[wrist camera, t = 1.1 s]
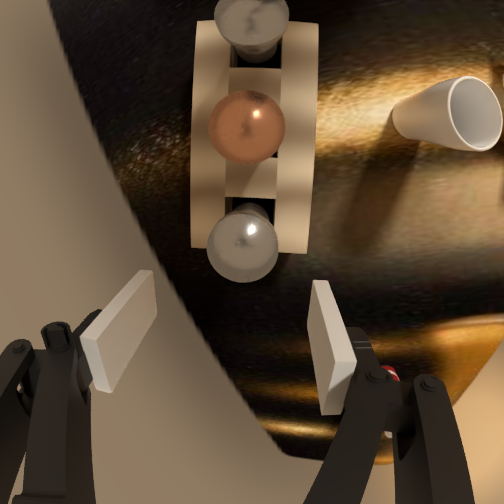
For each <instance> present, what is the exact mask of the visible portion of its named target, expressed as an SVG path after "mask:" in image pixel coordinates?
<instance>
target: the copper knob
mask: <svg viewBox="0 0 504 504" xmlns="http://www.w3.org/2000/svg"><path fill="white" fill-rule="evenodd" d="M285 129H286V128H285V119H284V115H283V113H282V111H281V109H280V107H279V106H278V105H277V103H276V102H275V101H274V100H273V99H271V98H270V97H269V96H267V95H265V94H263V93H260V92H257V91H252V90H242V91H237V92H234V93H231V94H229V95H227V96H226V97H224V98H223V99H221V100H220V101H219V102H218V103H217V104H216V106H215V107H214V109H213V111H212V112H211V115H210V118H209V123H208V133H209V137H210V141H211V143H212V145H213V147H214V148H215V150H216V151H217V152H218V153H219V154H220V155H221V156H222V157H224V158H225V159H227V160H229V161H231V162H234V163H237V164H243V165H251V164H256V163H260V162H262V161H264V160H266V159H268V158H269V157H271V156H272V155H273V154H274V153H275V152H276V151H277V150H278V149H279V147H280V145H281V144H282V142H283V139H284V135H285Z"/></svg>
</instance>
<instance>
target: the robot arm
mask: <svg viewBox="0 0 504 504" xmlns="http://www.w3.org/2000/svg"><path fill="white" fill-rule="evenodd" d="M157 315H158V314H157V306H156V296H155V287H154V275H153V271H152V270H139V271H138V272H137V273H136V274H135V276H134V277H133V278H132V279H131V280H130V281H129V282H128V283H127V284H126V285H125V286H124V287H123V289H122V290H121V291H120V292H119V293H118V294H117V295H116V296H115V297H114V298H113V300H112V301H111V302H110V303H109V304H108V305H107V306H106V307H105V308H104V309H103V310H101V309H97V310H96V311H94V312H92V313H90V314H89V315H88V316H87V317H86V318H85V319H84V321H83V322H82V323H81V324H80V326H78V327H77V328H76V329H75V330H74V331H73V333H72V332H71V329H70V326H69V325H68V324H67V323H65V322H53V323H50V324H48V325H46V326H44V327H43V328H42V330H41V335H42V338H43V341H44V344H45V347H46V350H38V349H33V347H32V345H31V343H30V341H29V340H25V339H18V340H15V341H13V342H11V343H10V344H9V345H8V346H7V347H6V348H5V350H4V351H3V352H2V354H1V355H0V504H8V501H9V498H10V495H11V491H12V489H13V486H14V483H15V480H16V476H17V474H18V471H19V468H20V465H21V463H22V460H23V457H24V455H25V452H26V457H25V467H24V480H23V491H22V494H20V495H15V496H14V497H13V499H12V504H96V499H95V491H94V480H93V467H92V450H91V392H90V389H89V385H90V383H91V381H92V380H93V382H94V385H95V387H96V390H100V391H104V392H108V393H112V392H113V390H114V388H115V387H116V385H117V383H118V381H119V380H120V377H121V376H122V374H123V373H124V371H125V369H126V367H127V366H128V364H129V362H130V360H131V358H132V356H133V355H134V354H135V352H136V350H137V348H138V346H139V345H140V343H141V342H142V340H143V338H144V336H145V335H146V333H147V331H148V330H149V328H150V327H151V325H152V323H153V322H154V320H155V318H156V317H157ZM307 328H308V334H309V340H310V345H311V351H312V357H313V363H314V369H315V375H316V382H317V388H318V394H319V401H320V408H321V414H322V415H338V414H341V412H342V409H343V406H344V408H345V413H344V415H343V418H342V420H341V423H340V425H339V428H338V430H337V432H336V435H335V437H334V440H333V442H332V444H331V446H330V449H329V451H328V453H327V455H326V458H325V460H324V462H323V464H322V466H321V469H320V471H319V473H318V475H317V477H316V479H315V481H314V483H313V485H312V487H311V489H310V491H309V493H308V495H307V497H306V499H305V501H304V503H303V504H360V502H361V500H362V497H363V494H364V491H365V488H366V485H367V482H368V479H369V476H370V473H371V470H372V467H373V463H374V460H375V456H376V453H377V449H378V446H379V442H380V438H381V435H382V431H387V432H392V443H393V456H394V474H395V504H475V502H474V496H473V490H472V485H471V480H470V475H469V470H468V466H467V461H466V457H465V453H464V449H463V445H462V441H461V437H460V433H459V430H458V426H457V423H456V419H455V415H454V412H453V409H452V406H451V402H450V399H449V396H448V393H447V390H446V387H445V385H444V383H443V381H442V380H440V379H439V378H438V377H436V376H434V375H429V374H422V375H419V376H417V377H416V378H415V379H414V381H413V383H408V382H402V381H397V380H394V379H393V376H392V374H391V373H390V372H389V371H388V370H386V369H385V368H382V367H380V364H379V362H378V360H377V357H376V355H375V353H374V350H373V348H372V346H371V343H370V342H369V339H368V337H367V334H366V333H365V332H364V331H363V330H361V329H360V328H359V327H345V326H344V323H343V321H342V318H341V315H340V312H339V310H338V307H337V304H336V302H335V299H334V296H333V294H332V291H331V288H330V286H329V283H328V281H326V280H313V284H312V292H311V300H310V307H309V315H308V322H307ZM18 384H20V386H21V389H20V391H19V392H18V390H17V386H18Z"/></svg>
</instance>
